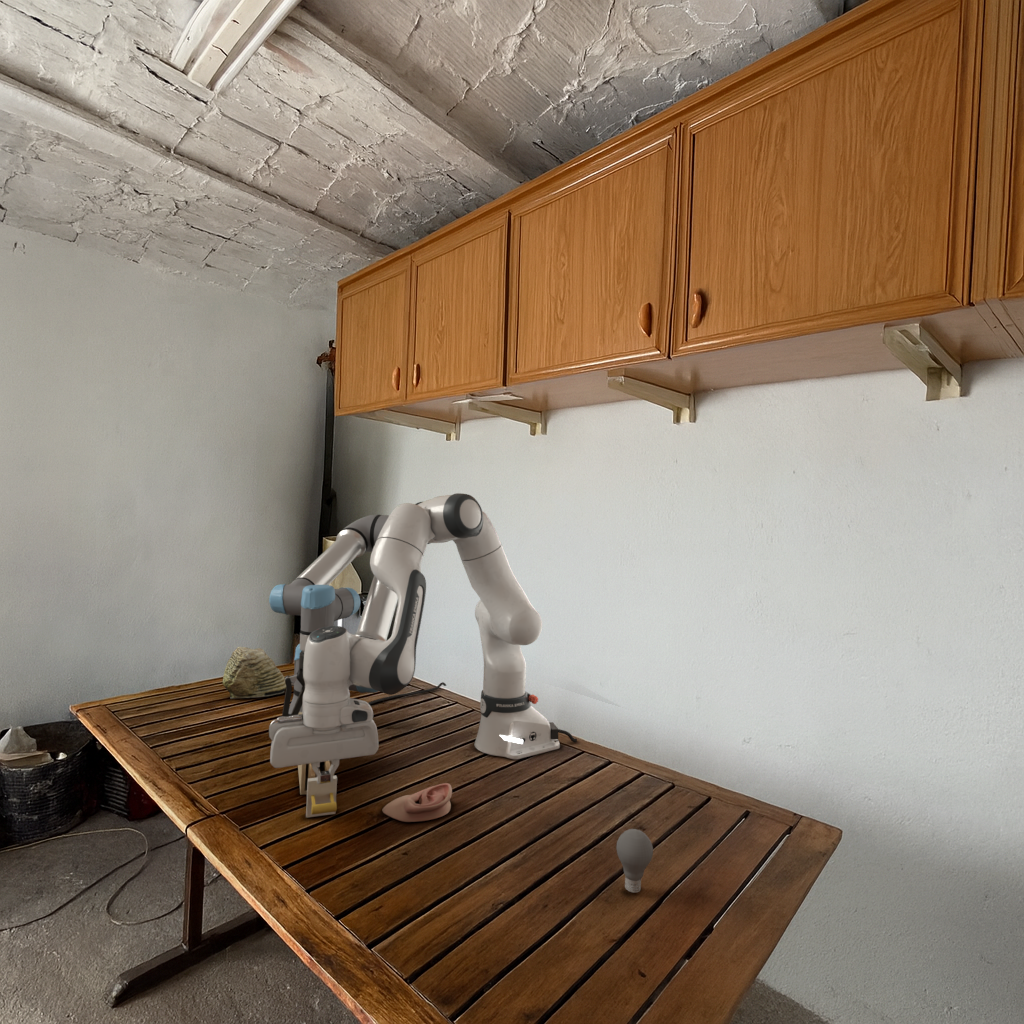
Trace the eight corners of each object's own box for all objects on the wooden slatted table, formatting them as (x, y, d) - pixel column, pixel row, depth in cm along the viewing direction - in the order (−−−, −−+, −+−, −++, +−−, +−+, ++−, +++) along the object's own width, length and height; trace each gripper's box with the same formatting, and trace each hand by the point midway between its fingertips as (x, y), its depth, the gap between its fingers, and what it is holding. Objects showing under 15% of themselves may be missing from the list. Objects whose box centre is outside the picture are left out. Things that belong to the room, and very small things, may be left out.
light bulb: (610, 879, 108) (613, 822, 108) (644, 879, 109) (647, 822, 109) (619, 902, 102) (622, 840, 102) (655, 901, 103) (658, 840, 103)
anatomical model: (376, 797, 126) (398, 774, 137) (375, 817, 126) (397, 792, 137) (440, 807, 123) (457, 782, 134) (439, 827, 123) (456, 800, 134)
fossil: (218, 695, 195) (220, 647, 195) (278, 685, 208) (279, 640, 207) (228, 703, 189) (230, 653, 188) (289, 692, 201) (290, 645, 201)
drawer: (338, 830, 121) (340, 792, 121) (308, 834, 119) (309, 796, 119) (326, 765, 145) (328, 734, 145) (301, 768, 143) (302, 736, 143)
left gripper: (271, 656, 143) (267, 757, 144) (360, 652, 150) (356, 748, 151) (271, 648, 150) (268, 745, 151) (356, 645, 157) (353, 737, 158)
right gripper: (269, 723, 116) (268, 798, 116) (381, 711, 124) (379, 780, 125) (268, 712, 122) (267, 783, 122) (374, 701, 130) (373, 767, 130)
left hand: (312, 746), depth 151 cm, fingers closed on cabinet, 7 cm apart
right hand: (324, 781), depth 124 cm, fingers closed
